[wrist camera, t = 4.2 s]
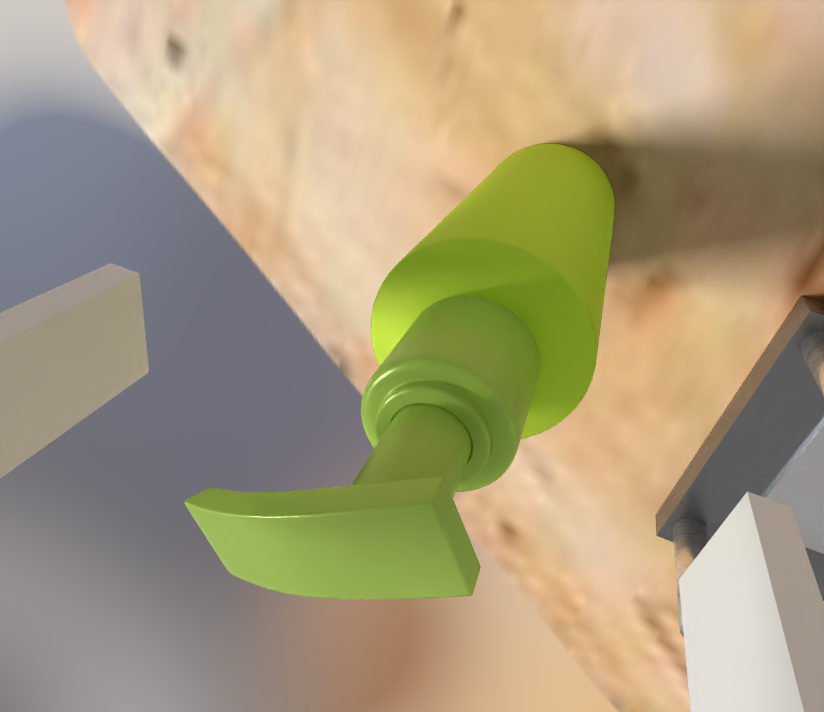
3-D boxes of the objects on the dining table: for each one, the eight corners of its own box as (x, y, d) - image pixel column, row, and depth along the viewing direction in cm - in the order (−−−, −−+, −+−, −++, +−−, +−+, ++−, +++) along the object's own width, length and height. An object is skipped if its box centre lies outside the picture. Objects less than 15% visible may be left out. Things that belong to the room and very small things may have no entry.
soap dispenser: (443, 174, 25) (101, 429, 9) (598, 123, 22) (494, 370, 6) (481, 290, 28) (259, 661, 11) (627, 257, 24) (607, 705, 8)
